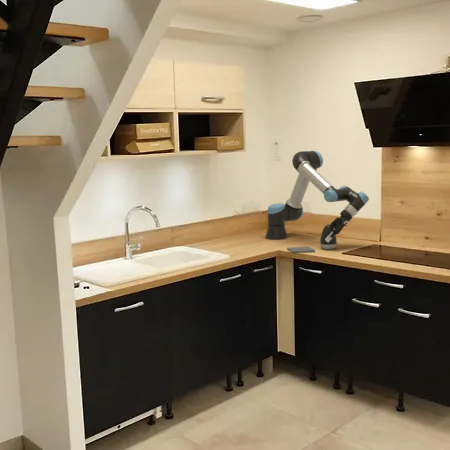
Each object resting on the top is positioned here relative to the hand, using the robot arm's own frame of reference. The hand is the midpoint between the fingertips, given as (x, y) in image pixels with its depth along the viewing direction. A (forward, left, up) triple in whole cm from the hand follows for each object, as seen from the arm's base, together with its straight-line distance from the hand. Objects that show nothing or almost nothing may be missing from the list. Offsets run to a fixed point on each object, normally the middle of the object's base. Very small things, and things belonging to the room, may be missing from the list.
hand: (323, 239), depth 358 cm
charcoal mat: (+1, -15, -6) cm, 16 cm away
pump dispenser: (0, +3, -6) cm, 7 cm away
